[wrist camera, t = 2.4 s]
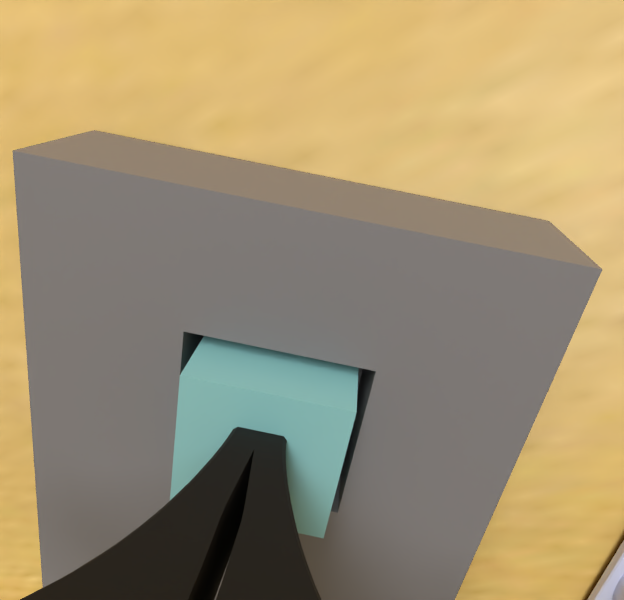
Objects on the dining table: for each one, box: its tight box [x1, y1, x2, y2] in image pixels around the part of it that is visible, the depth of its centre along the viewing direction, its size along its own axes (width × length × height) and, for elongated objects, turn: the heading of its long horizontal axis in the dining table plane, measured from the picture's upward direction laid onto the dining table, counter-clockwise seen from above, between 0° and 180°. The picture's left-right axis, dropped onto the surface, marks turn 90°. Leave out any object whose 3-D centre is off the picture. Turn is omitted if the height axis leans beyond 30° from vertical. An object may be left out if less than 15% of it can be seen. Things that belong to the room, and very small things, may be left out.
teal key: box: [170, 336, 358, 538], centre depth 15 cm, size 4×4×3 cm
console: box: [13, 130, 602, 600], centre depth 20 cm, size 14×26×4 cm, turn 170°
